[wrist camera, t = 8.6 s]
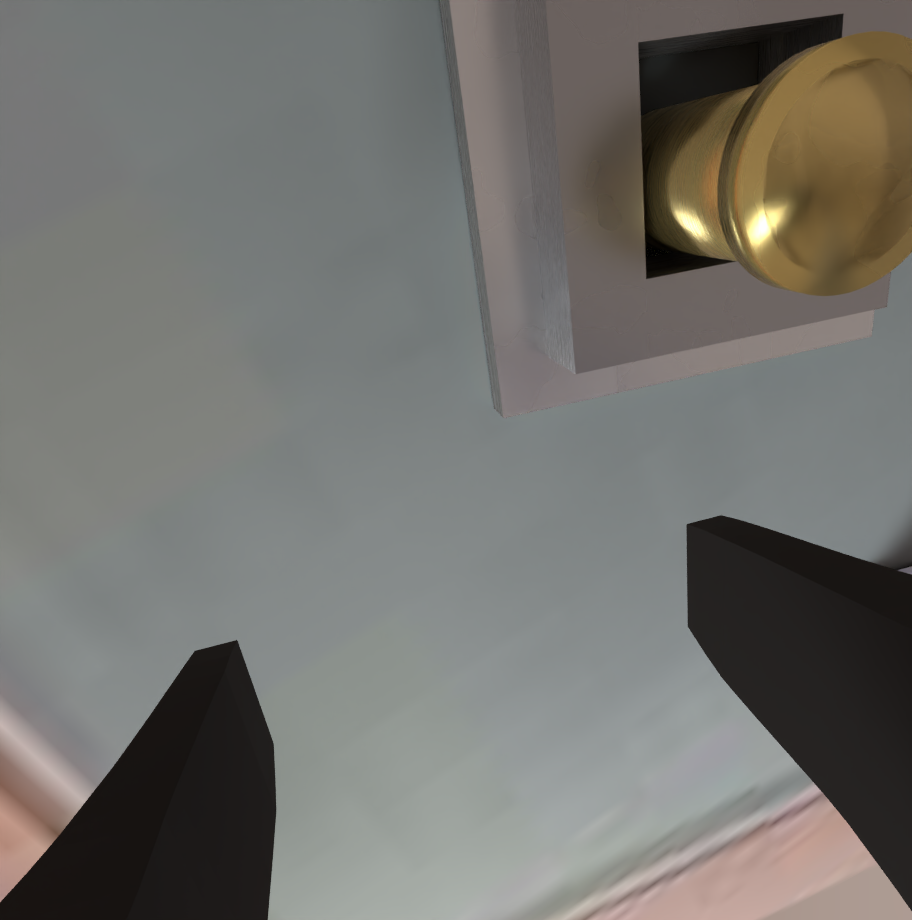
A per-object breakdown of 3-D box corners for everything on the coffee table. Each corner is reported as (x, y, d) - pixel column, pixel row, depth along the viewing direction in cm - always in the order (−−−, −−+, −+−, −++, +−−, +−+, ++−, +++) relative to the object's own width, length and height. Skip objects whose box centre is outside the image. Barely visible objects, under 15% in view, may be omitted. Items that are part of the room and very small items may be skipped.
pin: (741, 83, 18) (981, 21, 11) (730, 252, 20) (934, 280, 13) (587, 97, 17) (752, 41, 11) (590, 271, 19) (734, 310, 13)
